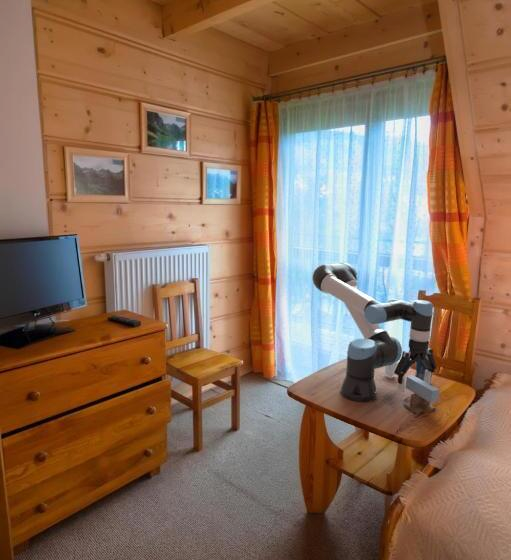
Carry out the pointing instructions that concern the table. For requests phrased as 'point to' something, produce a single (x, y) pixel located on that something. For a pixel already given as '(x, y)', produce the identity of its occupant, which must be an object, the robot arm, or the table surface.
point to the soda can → (420, 370)
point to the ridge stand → (419, 404)
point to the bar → (422, 389)
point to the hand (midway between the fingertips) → (413, 388)
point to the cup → (390, 370)
